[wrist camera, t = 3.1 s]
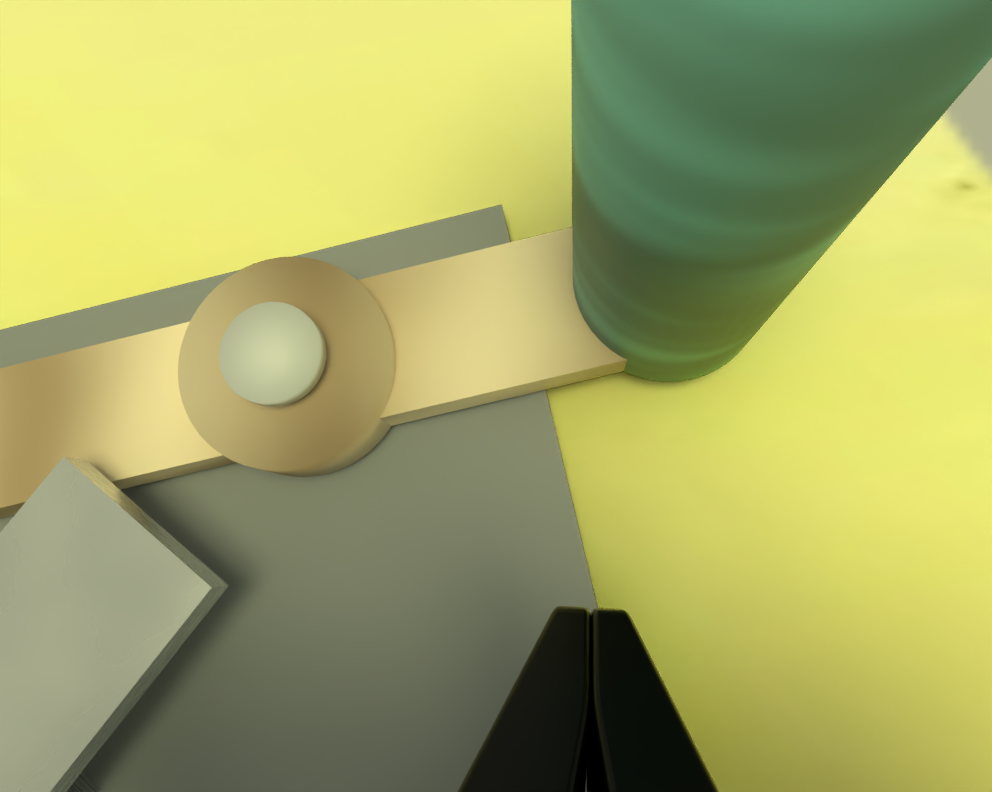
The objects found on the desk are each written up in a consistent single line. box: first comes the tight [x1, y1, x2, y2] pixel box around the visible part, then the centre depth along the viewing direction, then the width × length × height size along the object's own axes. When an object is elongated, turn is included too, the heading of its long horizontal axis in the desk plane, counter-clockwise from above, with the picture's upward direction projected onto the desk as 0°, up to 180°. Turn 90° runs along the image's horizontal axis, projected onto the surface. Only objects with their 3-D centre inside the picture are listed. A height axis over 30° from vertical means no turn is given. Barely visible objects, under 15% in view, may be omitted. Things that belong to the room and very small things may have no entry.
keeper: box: [0, 456, 229, 792], centre depth 15 cm, size 6×4×2 cm, turn 142°
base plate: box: [0, 205, 598, 792], centre depth 15 cm, size 18×14×3 cm
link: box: [0, 0, 992, 518], centre depth 10 cm, size 18×4×13 cm, turn 102°
